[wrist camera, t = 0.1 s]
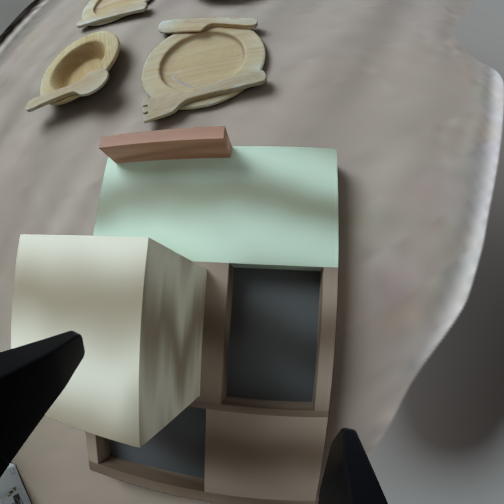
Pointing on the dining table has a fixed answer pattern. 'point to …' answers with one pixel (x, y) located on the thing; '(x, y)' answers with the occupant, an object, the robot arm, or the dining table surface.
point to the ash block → (115, 328)
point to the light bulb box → (12, 487)
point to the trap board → (236, 309)
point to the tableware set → (160, 61)
